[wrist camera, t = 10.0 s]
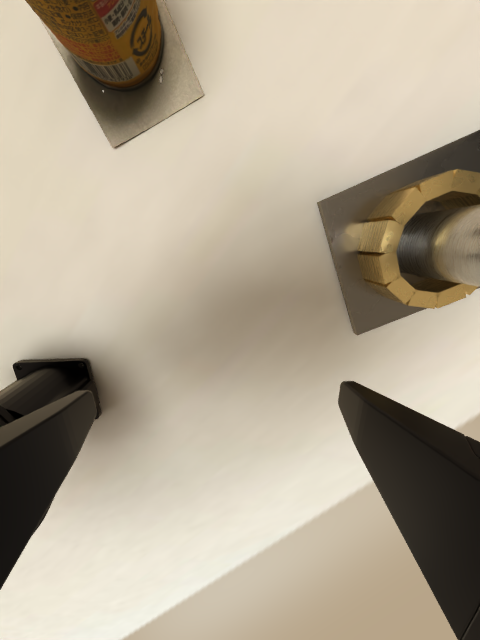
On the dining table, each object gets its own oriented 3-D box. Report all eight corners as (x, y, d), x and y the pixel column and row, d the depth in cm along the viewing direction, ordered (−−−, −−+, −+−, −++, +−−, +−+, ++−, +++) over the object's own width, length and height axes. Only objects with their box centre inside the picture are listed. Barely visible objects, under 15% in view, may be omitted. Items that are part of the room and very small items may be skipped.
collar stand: (353, 332, 22) (439, 396, 13) (317, 202, 19) (401, 166, 10) (514, 270, 21) (732, 292, 12) (509, 116, 17) (820, -21, 8)
